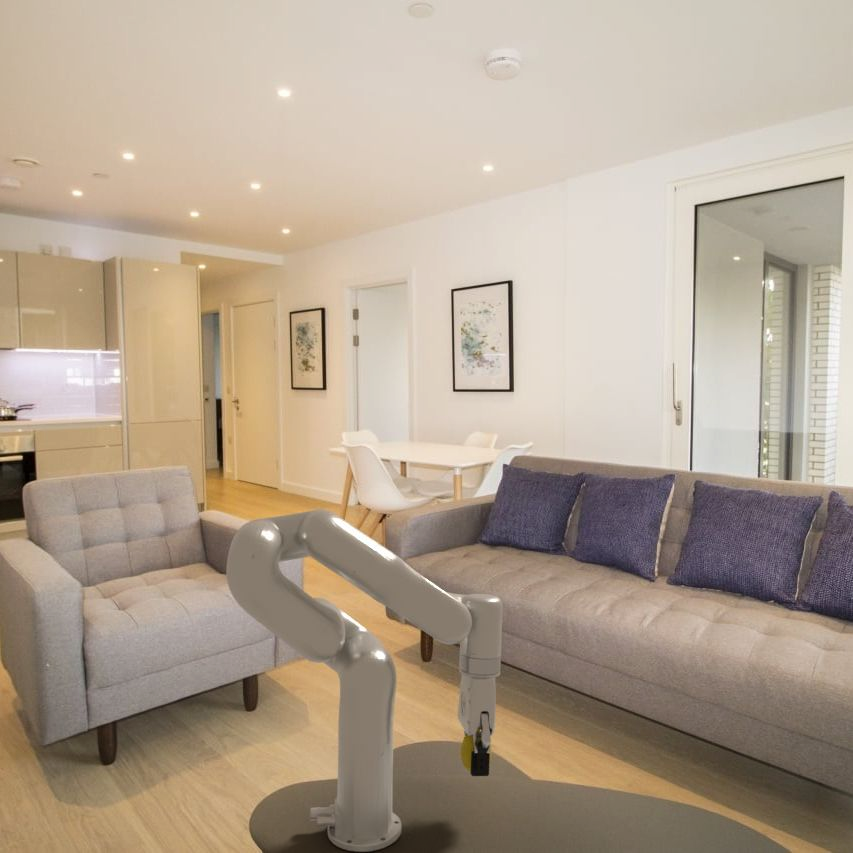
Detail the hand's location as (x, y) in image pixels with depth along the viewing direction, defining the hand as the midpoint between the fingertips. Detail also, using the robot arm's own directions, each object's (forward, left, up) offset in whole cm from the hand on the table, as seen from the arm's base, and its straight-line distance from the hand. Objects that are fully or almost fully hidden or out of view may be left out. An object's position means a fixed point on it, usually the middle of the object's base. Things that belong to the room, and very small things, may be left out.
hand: (475, 766), depth 115 cm
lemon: (0, 0, -2) cm, 2 cm away
